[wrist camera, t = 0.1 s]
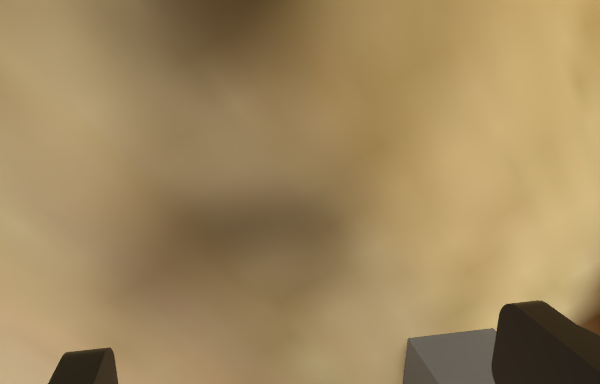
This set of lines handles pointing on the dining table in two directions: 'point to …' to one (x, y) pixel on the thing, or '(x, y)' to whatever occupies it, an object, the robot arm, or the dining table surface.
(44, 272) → the dining table surface
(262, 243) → the dining table surface
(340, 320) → the dining table surface
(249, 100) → the dining table surface
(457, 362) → the slate numbered cube
